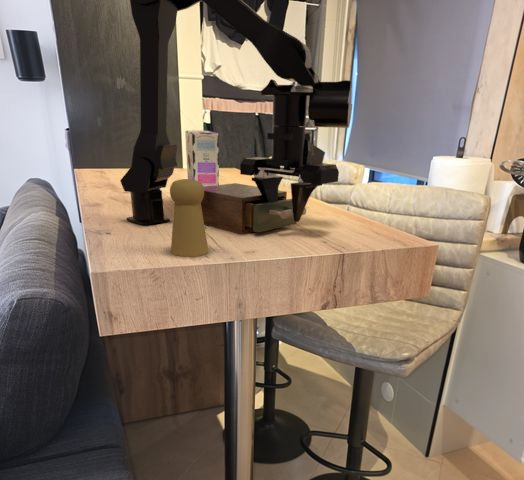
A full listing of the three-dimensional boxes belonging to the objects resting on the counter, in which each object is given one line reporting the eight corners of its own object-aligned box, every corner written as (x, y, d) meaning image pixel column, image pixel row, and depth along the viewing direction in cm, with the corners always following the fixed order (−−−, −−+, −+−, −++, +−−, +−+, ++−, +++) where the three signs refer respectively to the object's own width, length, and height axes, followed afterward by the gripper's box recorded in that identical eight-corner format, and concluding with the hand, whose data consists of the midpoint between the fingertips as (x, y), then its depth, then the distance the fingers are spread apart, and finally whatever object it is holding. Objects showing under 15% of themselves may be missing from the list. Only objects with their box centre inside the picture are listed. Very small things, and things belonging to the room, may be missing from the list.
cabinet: (285, 225, 93) (286, 191, 90) (241, 234, 85) (242, 197, 82) (235, 214, 102) (235, 183, 99) (191, 221, 94) (190, 188, 91)
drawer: (313, 227, 88) (315, 202, 86) (274, 236, 81) (276, 209, 78) (248, 213, 98) (248, 190, 96) (208, 220, 91) (208, 195, 89)
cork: (190, 244, 78) (187, 176, 72) (216, 251, 74) (214, 180, 69) (163, 251, 73) (157, 179, 68) (188, 258, 70) (185, 183, 65)
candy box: (220, 212, 103) (219, 132, 95) (194, 213, 102) (191, 131, 94) (211, 201, 115) (209, 129, 107) (187, 202, 113) (184, 129, 106)
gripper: (360, 128, 78) (351, 220, 85) (278, 125, 89) (276, 207, 96) (322, 128, 70) (315, 229, 77) (237, 125, 81) (238, 214, 89)
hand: (285, 219), depth 85 cm, fingers closed on drawer, 5 cm apart
